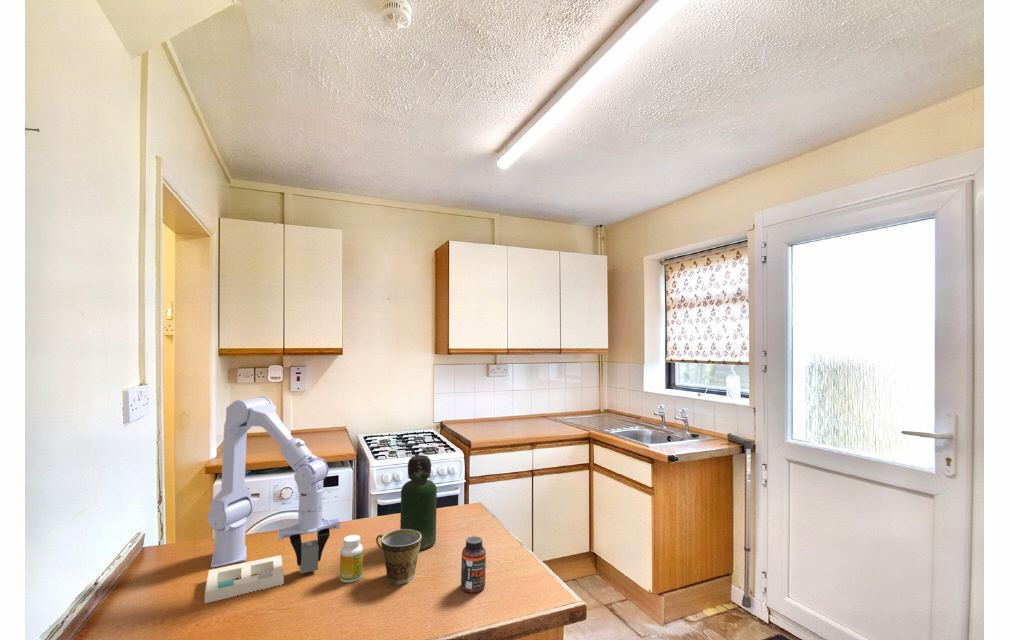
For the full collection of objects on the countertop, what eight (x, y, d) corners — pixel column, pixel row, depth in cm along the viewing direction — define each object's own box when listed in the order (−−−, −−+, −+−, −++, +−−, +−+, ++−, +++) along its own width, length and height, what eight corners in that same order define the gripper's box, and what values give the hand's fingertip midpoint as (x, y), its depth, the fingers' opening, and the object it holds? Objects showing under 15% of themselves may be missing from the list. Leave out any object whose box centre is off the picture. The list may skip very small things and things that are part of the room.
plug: (299, 566, 114) (300, 541, 114) (315, 562, 116) (316, 538, 116) (300, 573, 111) (301, 548, 111) (317, 569, 113) (318, 544, 113)
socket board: (208, 580, 109) (208, 568, 109) (280, 564, 117) (281, 553, 117) (204, 603, 99) (205, 590, 99) (283, 584, 107) (283, 572, 107)
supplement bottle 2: (472, 597, 103) (473, 547, 103) (455, 587, 107) (456, 539, 107) (490, 586, 107) (491, 539, 108) (473, 577, 111) (474, 532, 112)
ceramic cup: (428, 572, 113) (429, 533, 114) (404, 592, 104) (405, 549, 105) (388, 561, 119) (389, 524, 119) (362, 579, 110) (363, 538, 110)
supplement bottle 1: (355, 584, 108) (356, 543, 108) (335, 581, 109) (336, 541, 109) (366, 573, 113) (367, 534, 113) (347, 570, 114) (348, 532, 114)
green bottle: (394, 541, 131) (396, 456, 132) (426, 532, 137) (427, 451, 139) (408, 554, 123) (410, 464, 124) (442, 545, 129) (443, 458, 130)
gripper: (280, 518, 107) (278, 576, 106) (342, 508, 114) (340, 561, 114) (278, 509, 113) (276, 563, 112) (337, 499, 120) (336, 550, 120)
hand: (308, 561), depth 113 cm, fingers closed on plug, 4 cm apart
